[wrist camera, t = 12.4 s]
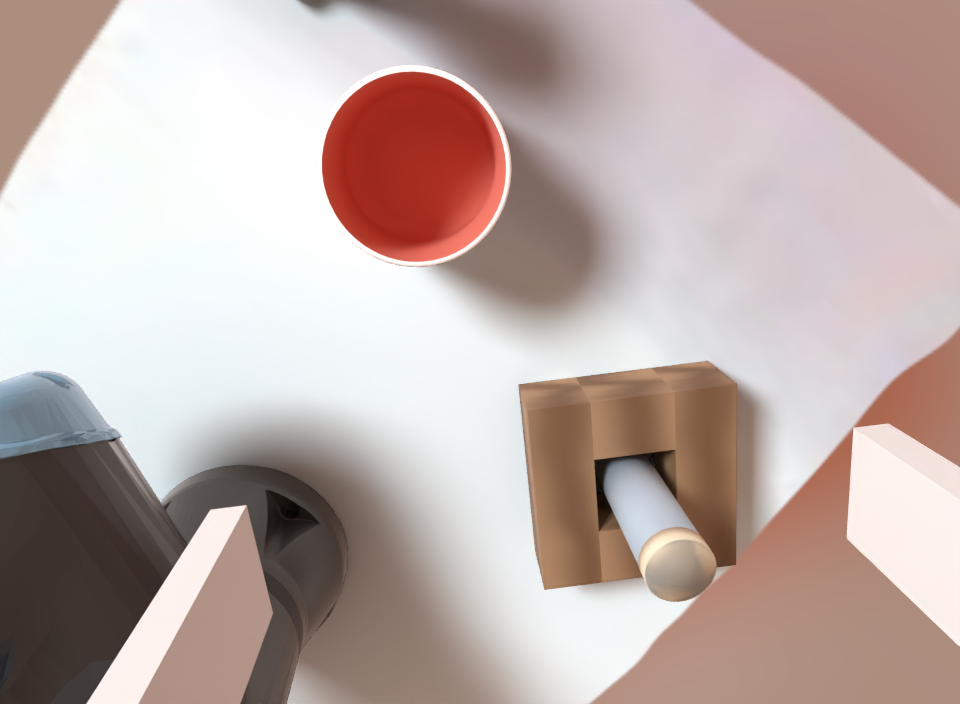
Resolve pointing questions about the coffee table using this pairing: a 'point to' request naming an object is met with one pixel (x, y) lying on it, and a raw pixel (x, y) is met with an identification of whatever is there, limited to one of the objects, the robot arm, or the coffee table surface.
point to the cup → (413, 166)
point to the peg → (656, 528)
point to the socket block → (622, 432)
